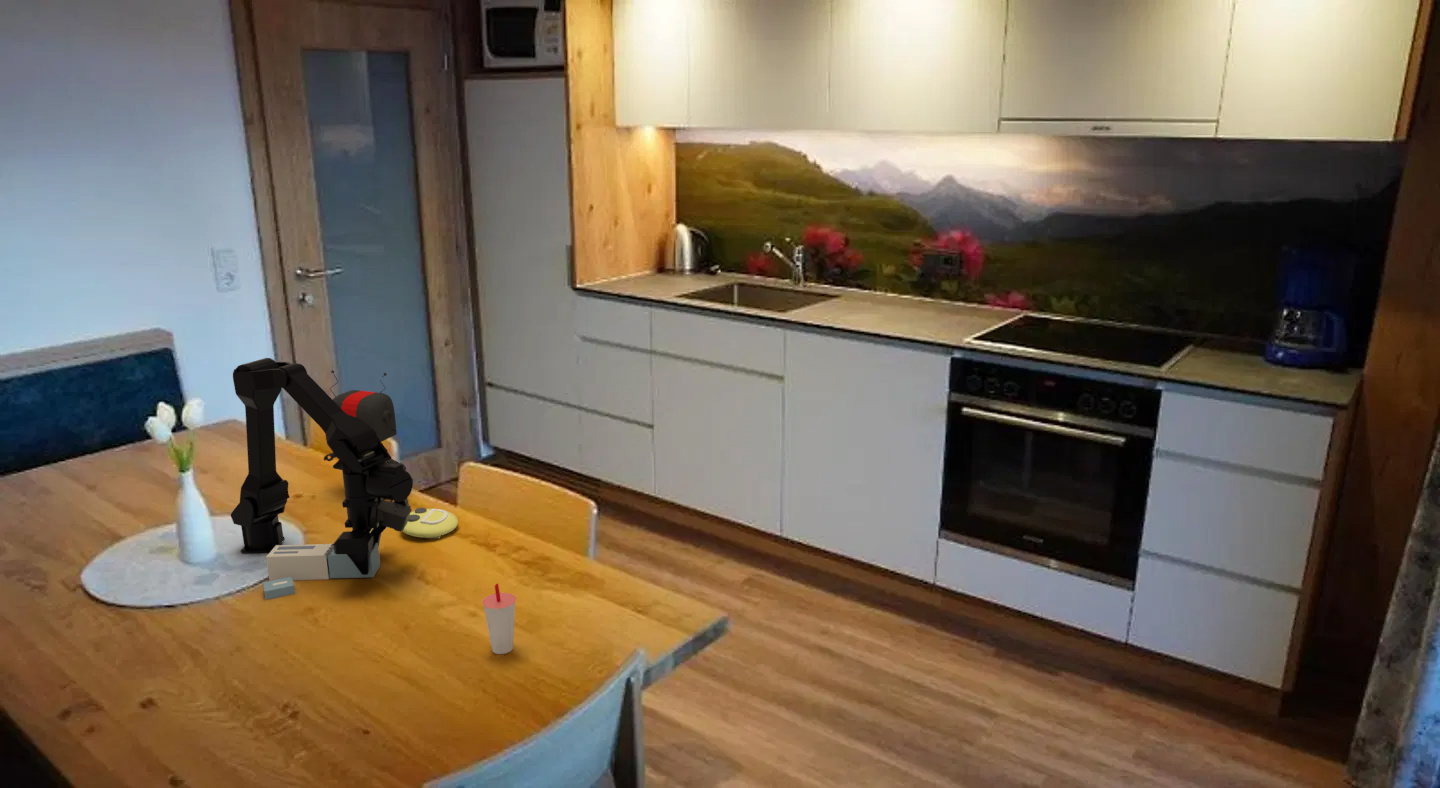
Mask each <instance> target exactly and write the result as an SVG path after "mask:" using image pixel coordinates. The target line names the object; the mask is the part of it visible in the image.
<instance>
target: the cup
mask: <svg viewBox="0 0 1440 788" xmlns="http://www.w3.org/2000/svg"><path fill="white" fill-rule="evenodd" d="M499 587H500V586H499V583H495V585H494V590H495V593H492V594H490V595H487V596H486V597H484V598H483V600H482V605H483V608H484V609H483V610H484V614H485V620H486V624H487V631H488V636H489V641H490V646H491V651H492V653H494V654H497V655H504V654H508V653H511V651H512V650H513V649H514V638H515V637H514V636H515V635H514V634H515V614H516V613H515V612H516V600H517V598H516V596H515V595H514V594H512V593H508V592H500V588H499Z"/></svg>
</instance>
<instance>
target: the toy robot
mask: <svg viewBox="0 0 1440 788" xmlns="http://www.w3.org/2000/svg"><path fill="white" fill-rule="evenodd" d="M330 373H331V374H333V376H334V378H335V380H336V383H334V384H333V385H332V386H331V387H329V390H330V392H331V393H332V394H333V396H334V398H333V399H332V400H333V401H334V402H335V403H336V404H337V405H338V406H339V407H340V408H341V409H342V410H343V411H344V412H345V413H347V414H348V415H351V416H354V417H356V418H359V419H361V420H362V421H364V422H365V423H366V424H368V425H369V426H370V427H371V428H372V429H374V431H375V432H376V434H377V436H378V438H379V439H380V441H381V442H382V443H383V442H384V441H385V440H388V439H390V438H392V437H394V436H396V435H397V432H398V431H397V423H396V421H397V420H396V414H395V413H396V412H395V407H394V403H393V399H392V398H391V396H389V395H388V394H385V393H382V392H383V391H385V390H386V386H385V385H384V383H383V382H382V381H380V383H381V384H382V386H383V387H384V389H383V390H381V391H380V392H374V391H369V390H368V391H367V390H357V389H351V390H348V391H345V392H343V393H341V394H338V395H335V393H334V392H333V390H332V388H333V387H334V386H335V385H337V384H338V383H339V380H338V379H337V376H336V375H335V370H331V371H330ZM386 376H387V373H386V372H384V373H383V377H386ZM374 455H376V454H375V453H372V454H369V455H367V456H365V457H363V458H360V459H358V460H365V459H367V458H370V457H372V456H374ZM329 457H330V458H329ZM335 458H337V457H336V455H335V454H334V453H333V452H330V453H328V454H326V455H324V457H323V461H324V462H325V461H327V462H331V461H333V460H334V459H335ZM386 463H391V464H402V465H403V471H407V466H405V464H403V463H401V462H399V461H397V460H395V459H393V458H391V460H389V461H387V462H386ZM383 500H384V501H386V499H383Z"/></svg>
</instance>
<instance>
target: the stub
mask: <svg viewBox="0 0 1440 788" xmlns="http://www.w3.org/2000/svg"><path fill="white" fill-rule="evenodd" d="M379 548H380V547H379ZM379 548H378V543H376V544H375V546H374V547H373V549H372V550H370V557H369V571H368V574H367V575H362V574H361V572H360V571H359V570H358V568H357V567H356V566H355V564H354V563H353V562H352V560H351V559H350V558H349V557H348V555H347V554H335V553H334V547H333V548H332V550H331V551H330V552H329V554H328V555H327V556H328V564H329V572H330V578H329V579H354V578H355V579H358V578H360V579H361V578H374V577H375V575H376V573H377V572H378V570H379V568H380V567H381V560H380V559H381V558H380V551H379Z"/></svg>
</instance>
